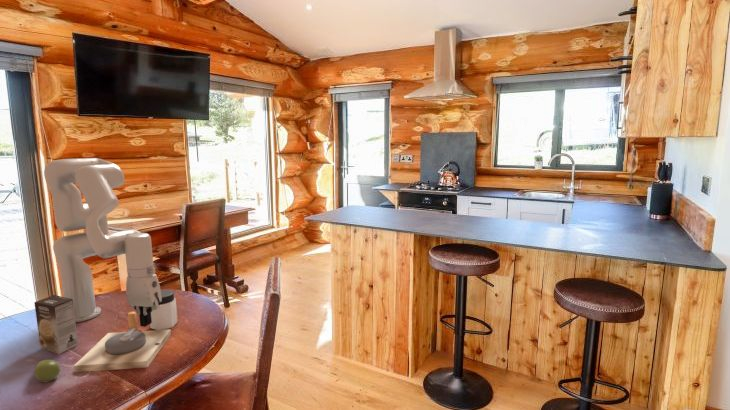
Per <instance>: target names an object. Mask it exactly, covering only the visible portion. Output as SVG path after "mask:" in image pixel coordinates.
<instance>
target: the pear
mask: <svg viewBox="0 0 730 410" xmlns="http://www.w3.org/2000/svg"><path fill="white" fill-rule="evenodd" d="M60 365H61V364H60V363H59V362H58V361H57V360H54V359H43V360H40V361H38V362H37V363H36V365H35V367H34V369H33V373H34V377H35V378H36V379H37V380H38V381H40V382H42V383H43V382H44V383H48V382H51V381H53V380H54V379H56V378H57V377H58V376H59V375H60V372H61V367H60Z"/></svg>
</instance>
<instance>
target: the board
mask: <svg viewBox="0 0 730 410" xmlns="http://www.w3.org/2000/svg"><path fill="white" fill-rule="evenodd" d="M171 329H172V328H169V329H164V330H155V329H152V330H140V329H139V330H138V331H139V332H143V333H144V334H145V337H146V343H145V345H144V346H142V347H141V348H139V349H137V350H135V351H133V352H130V353H126V354H119V355H112V354H108V353H107V352H106V350H105V342H106V341H107V340H108V339H110V338H111V337H113V336H115V335H118V334H121V333H125V332H126V331H121V332H120V331H119V332H117V331H116V332H107V333H106V335H104V337H102V338H101V339H100V340H99V341H98V342H97V343H96V344H95V345H94V346H93V347H91V349H89V351H88V352H86V354H84V355H83V356H82V357H81V358H80V359H79V360H78V361H77V362H76V363H75V364H74V365H73V372H74V373H80V372H82V373H83V372H95V371H96V372H97V371H98V372H99V371H110V370H111V371H112V370H127V369H143V368H144V369H145V368H149V366H150V365H151V364H152V362H153V361H154V360H155V358H156V356H157V355H158V354H159V353H160V350H161V349H162V348H163V347H164V345H165V344H166V343H167V342H168V340H169V338H170V337H171V335H172V331H171Z"/></svg>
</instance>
